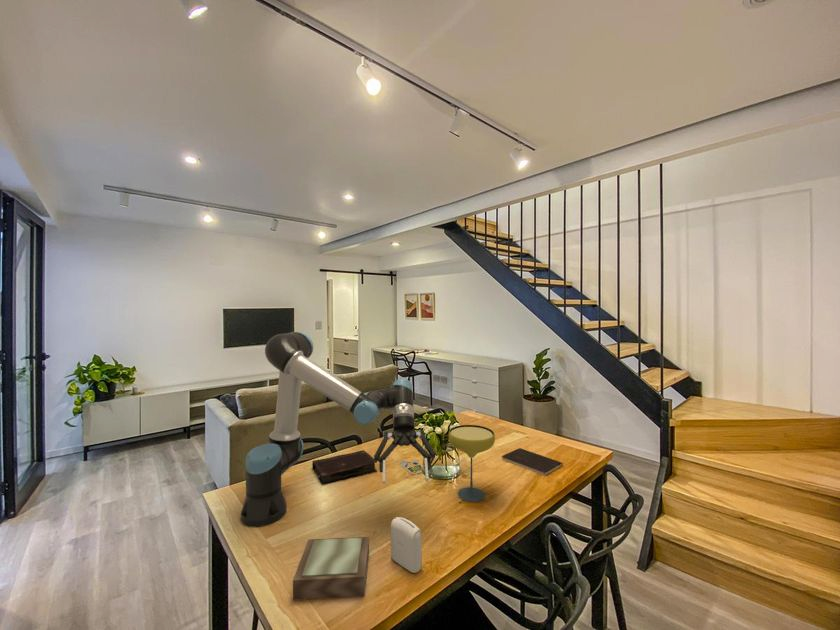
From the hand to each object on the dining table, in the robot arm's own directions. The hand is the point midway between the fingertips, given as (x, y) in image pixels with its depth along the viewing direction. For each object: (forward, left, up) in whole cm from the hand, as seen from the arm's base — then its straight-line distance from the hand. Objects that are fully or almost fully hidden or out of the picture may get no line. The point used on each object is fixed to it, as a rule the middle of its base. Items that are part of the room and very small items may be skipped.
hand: (405, 481), depth 112 cm
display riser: (-20, -13, -19) cm, 31 cm away
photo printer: (0, -10, -19) cm, 22 cm away
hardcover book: (+62, +53, -20) cm, 84 cm away
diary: (-26, +51, -20) cm, 61 cm away
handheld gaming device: (+5, +53, -20) cm, 57 cm away
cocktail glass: (+27, +26, -19) cm, 42 cm away
